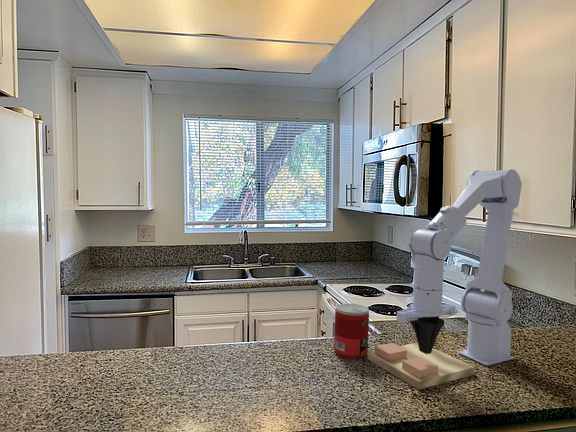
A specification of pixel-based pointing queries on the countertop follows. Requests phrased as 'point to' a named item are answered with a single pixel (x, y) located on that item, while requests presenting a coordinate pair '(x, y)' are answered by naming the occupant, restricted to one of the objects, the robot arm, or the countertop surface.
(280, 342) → the countertop surface
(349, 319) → the canned food
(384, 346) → the tile
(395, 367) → the board
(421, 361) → the tile
